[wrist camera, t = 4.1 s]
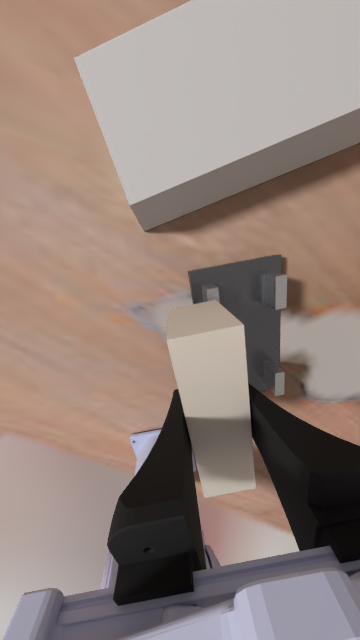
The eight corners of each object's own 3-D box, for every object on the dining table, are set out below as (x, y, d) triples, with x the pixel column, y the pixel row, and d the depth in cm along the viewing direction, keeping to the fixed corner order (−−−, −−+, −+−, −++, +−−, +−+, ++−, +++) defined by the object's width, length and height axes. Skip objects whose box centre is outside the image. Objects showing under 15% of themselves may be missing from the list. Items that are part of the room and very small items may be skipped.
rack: (274, 382, 23) (292, 403, 20) (207, 395, 23) (213, 418, 20) (275, 254, 18) (299, 253, 14) (187, 271, 18) (192, 274, 14)
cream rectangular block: (230, 422, 16) (255, 488, 12) (194, 429, 17) (204, 498, 12) (215, 299, 12) (243, 324, 8) (167, 309, 13) (166, 340, 8)
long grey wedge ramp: (107, 131, 16) (145, 234, 17) (73, 57, 12) (129, 205, 12) (489, -44, 14) (520, 80, 15) (642, -221, 9) (681, -29, 10)
